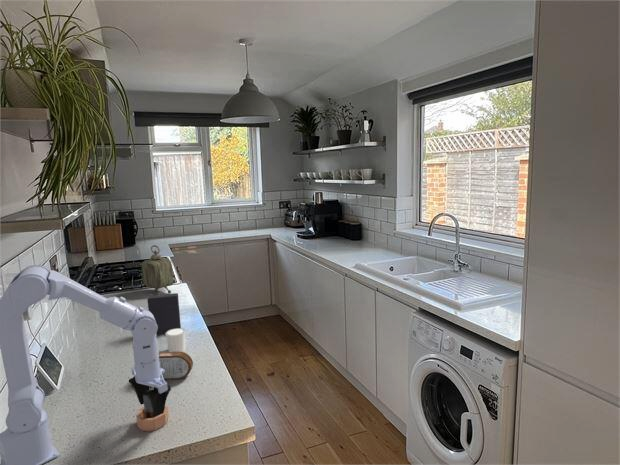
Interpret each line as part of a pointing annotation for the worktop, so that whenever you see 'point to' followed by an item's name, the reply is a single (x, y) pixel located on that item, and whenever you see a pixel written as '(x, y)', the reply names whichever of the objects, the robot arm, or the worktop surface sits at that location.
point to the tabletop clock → (157, 272)
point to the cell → (148, 406)
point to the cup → (151, 420)
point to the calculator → (165, 311)
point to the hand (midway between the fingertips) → (151, 408)
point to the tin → (175, 364)
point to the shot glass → (176, 339)
